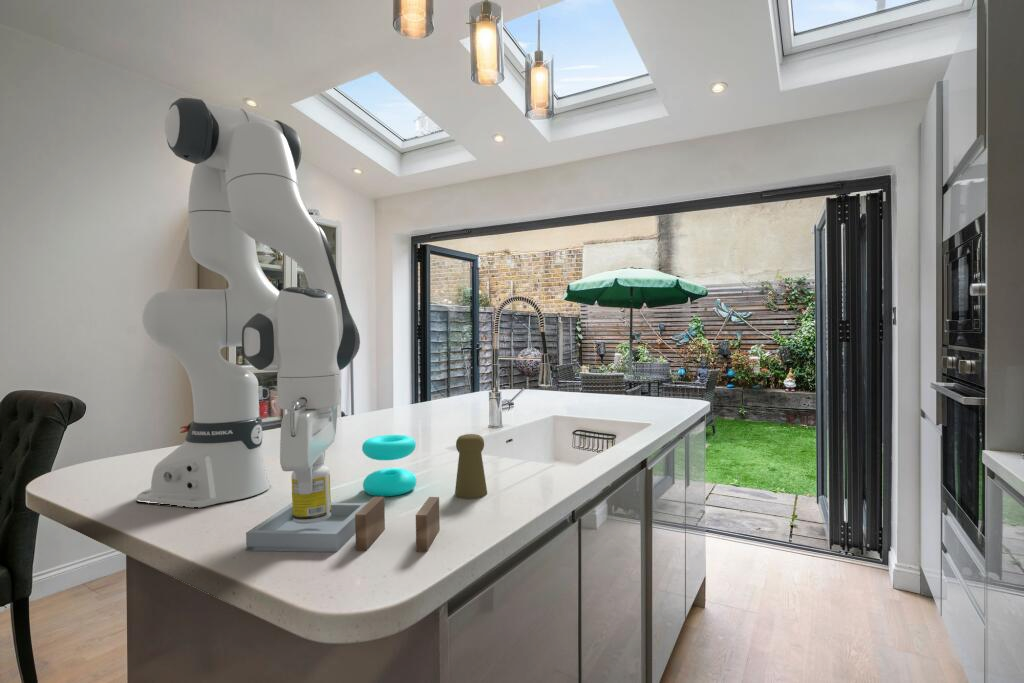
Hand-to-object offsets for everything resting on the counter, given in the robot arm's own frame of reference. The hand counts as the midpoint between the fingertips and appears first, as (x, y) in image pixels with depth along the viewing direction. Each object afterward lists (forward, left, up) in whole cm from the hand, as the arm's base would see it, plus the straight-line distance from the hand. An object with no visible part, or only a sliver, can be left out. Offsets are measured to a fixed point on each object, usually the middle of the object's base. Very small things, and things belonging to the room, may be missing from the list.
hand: (311, 486), depth 79 cm
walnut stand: (+14, -2, -7) cm, 16 cm away
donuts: (+5, +22, -7) cm, 24 cm away
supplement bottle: (0, 0, -5) cm, 5 cm away
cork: (+21, +20, -7) cm, 30 cm away
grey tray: (0, 0, -7) cm, 7 cm away
